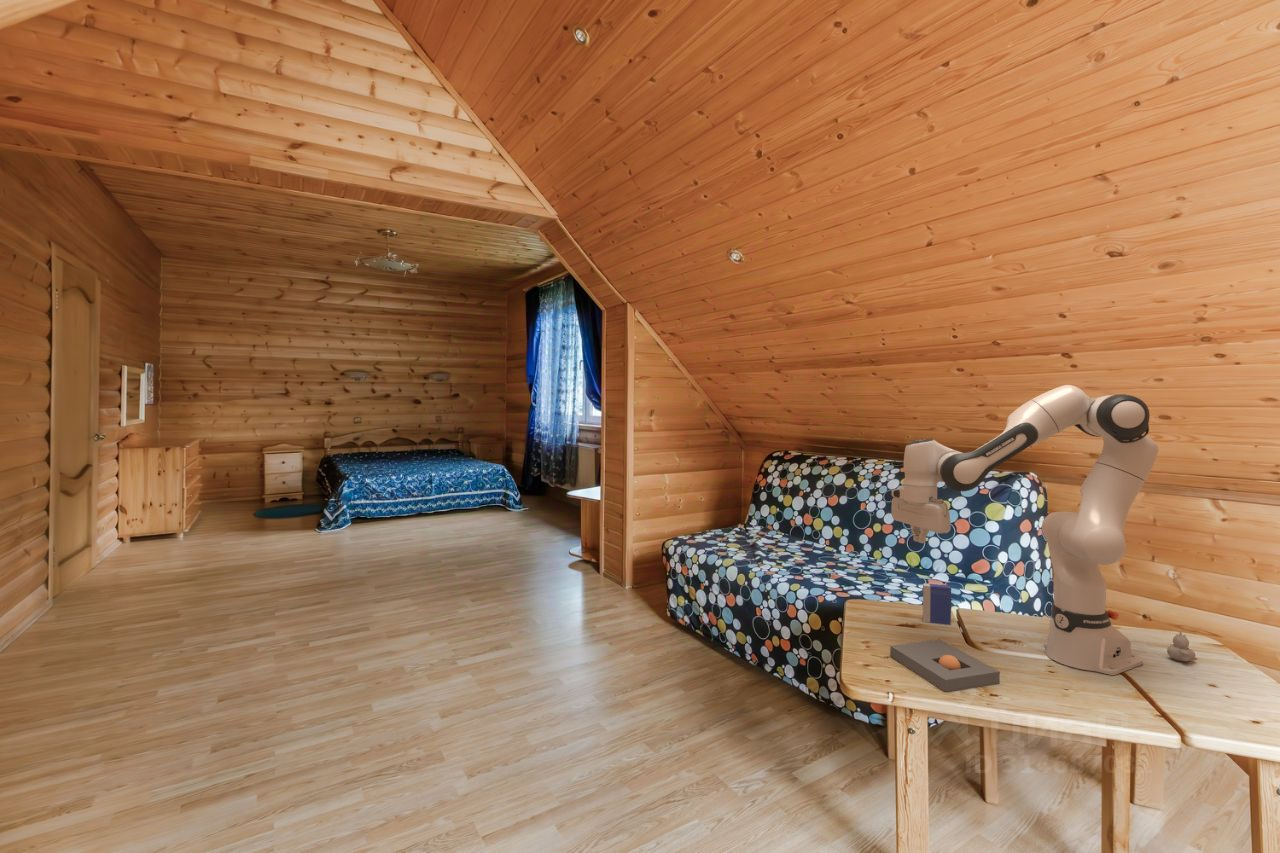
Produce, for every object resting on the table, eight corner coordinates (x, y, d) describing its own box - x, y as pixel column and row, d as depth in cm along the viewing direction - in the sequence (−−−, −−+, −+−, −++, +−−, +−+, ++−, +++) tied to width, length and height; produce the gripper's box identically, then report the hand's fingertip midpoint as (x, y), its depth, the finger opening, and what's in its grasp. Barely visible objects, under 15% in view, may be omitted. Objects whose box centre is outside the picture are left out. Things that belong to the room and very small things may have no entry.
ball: (967, 673, 144) (954, 677, 148) (961, 653, 147) (948, 657, 151) (950, 673, 143) (937, 677, 147) (944, 652, 146) (931, 657, 150)
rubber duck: (1188, 657, 155) (1189, 628, 155) (1200, 668, 149) (1201, 638, 149) (1162, 654, 157) (1163, 625, 157) (1173, 664, 151) (1174, 634, 151)
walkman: (949, 621, 182) (949, 584, 181) (950, 624, 179) (951, 587, 179) (921, 618, 184) (922, 582, 184) (922, 622, 182) (923, 584, 181)
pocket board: (939, 649, 162) (939, 639, 162) (999, 683, 142) (999, 671, 142) (890, 656, 158) (890, 645, 158) (945, 692, 139) (945, 679, 138)
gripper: (956, 500, 157) (956, 550, 158) (905, 489, 177) (905, 533, 177) (937, 501, 155) (936, 551, 156) (887, 490, 175) (887, 534, 176)
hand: (919, 541), depth 167 cm, fingers closed
